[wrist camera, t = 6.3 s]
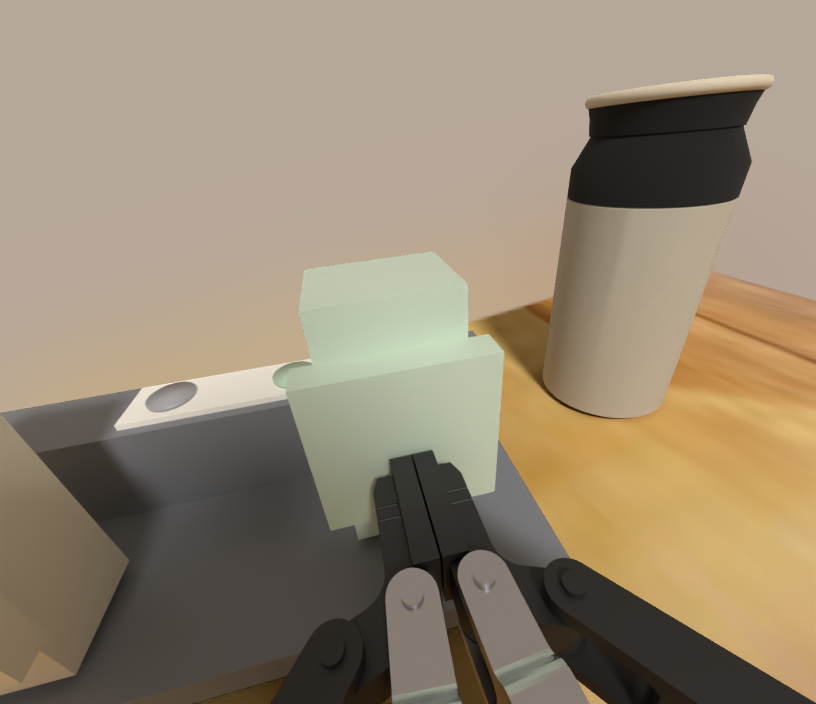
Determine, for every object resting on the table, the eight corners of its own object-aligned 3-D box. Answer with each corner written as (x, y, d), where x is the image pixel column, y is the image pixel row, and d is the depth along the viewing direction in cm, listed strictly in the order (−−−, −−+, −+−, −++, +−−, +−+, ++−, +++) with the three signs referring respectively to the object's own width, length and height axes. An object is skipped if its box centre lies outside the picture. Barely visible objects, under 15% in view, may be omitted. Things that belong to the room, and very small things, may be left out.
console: (-204, 819, 11) (-517, 761, 8) (46, 499, 21) (-38, 410, 18) (573, 592, 15) (607, 481, 11) (471, 412, 25) (472, 323, 21)
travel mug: (563, 425, 23) (629, 85, 14) (529, 360, 30) (559, 103, 21) (689, 419, 23) (843, 63, 14) (626, 354, 30) (700, 89, 20)
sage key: (343, 571, 14) (266, 334, 9) (338, 472, 19) (285, 272, 13) (491, 533, 15) (508, 295, 10) (453, 447, 20) (450, 249, 14)
